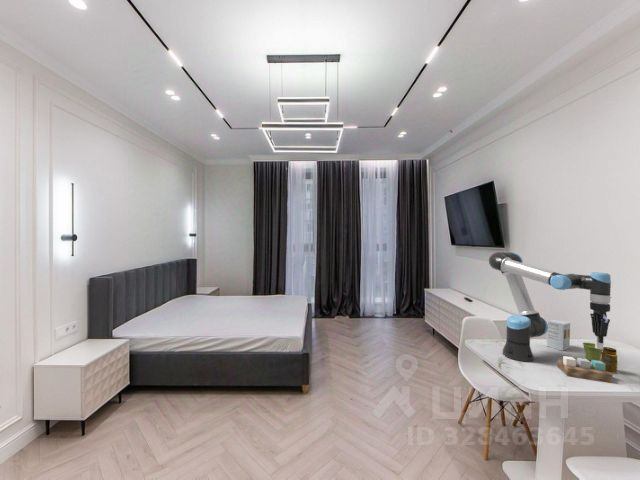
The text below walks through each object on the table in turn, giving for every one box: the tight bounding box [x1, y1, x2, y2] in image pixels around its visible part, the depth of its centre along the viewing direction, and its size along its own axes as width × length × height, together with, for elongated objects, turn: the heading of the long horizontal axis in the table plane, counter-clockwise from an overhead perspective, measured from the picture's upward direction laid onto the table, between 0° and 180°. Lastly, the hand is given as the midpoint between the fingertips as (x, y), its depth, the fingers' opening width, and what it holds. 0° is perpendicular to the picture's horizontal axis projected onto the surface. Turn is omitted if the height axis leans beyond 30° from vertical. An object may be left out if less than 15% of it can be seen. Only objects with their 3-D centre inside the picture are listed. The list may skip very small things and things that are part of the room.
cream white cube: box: [562, 355, 577, 367], centre depth 155 cm, size 4×4×4 cm
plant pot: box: [581, 342, 603, 361], centre depth 172 cm, size 9×9×9 cm
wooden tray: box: [557, 359, 613, 384], centre depth 152 cm, size 18×12×4 cm, turn 70°
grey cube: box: [576, 357, 591, 369], centre depth 152 cm, size 4×4×4 cm
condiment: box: [600, 346, 622, 375], centre depth 158 cm, size 7×8×12 cm
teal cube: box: [590, 360, 605, 371], centre depth 150 cm, size 4×4×4 cm
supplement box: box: [546, 319, 571, 352], centre depth 192 cm, size 10×9×17 cm
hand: (599, 348), depth 150 cm, fingers closed
